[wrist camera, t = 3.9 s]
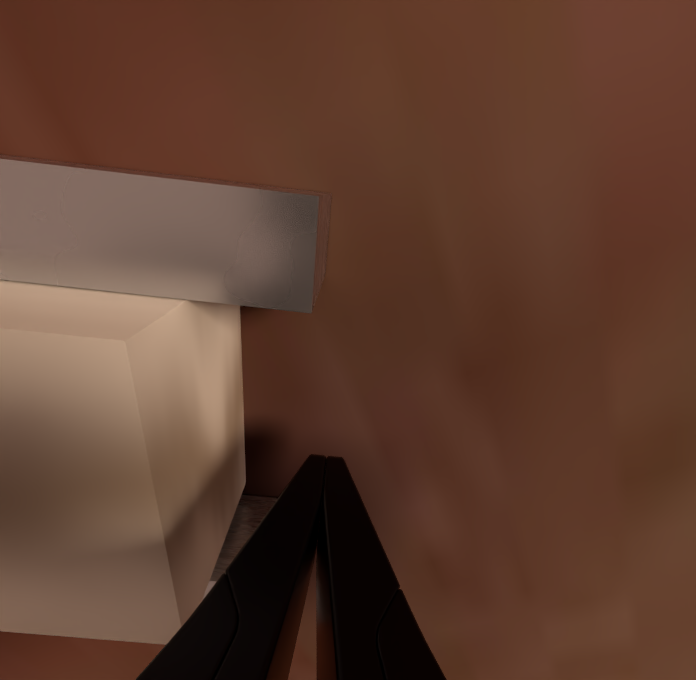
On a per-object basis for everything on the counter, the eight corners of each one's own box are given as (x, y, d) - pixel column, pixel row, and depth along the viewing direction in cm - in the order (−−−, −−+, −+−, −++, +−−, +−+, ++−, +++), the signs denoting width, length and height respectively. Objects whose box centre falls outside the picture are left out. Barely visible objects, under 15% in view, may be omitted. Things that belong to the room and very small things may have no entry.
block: (247, 478, 12) (185, 645, 8) (29, 457, 12) (-164, 618, 8) (241, 264, 9) (125, 340, 5) (-59, 231, 9) (-496, 277, 4)
